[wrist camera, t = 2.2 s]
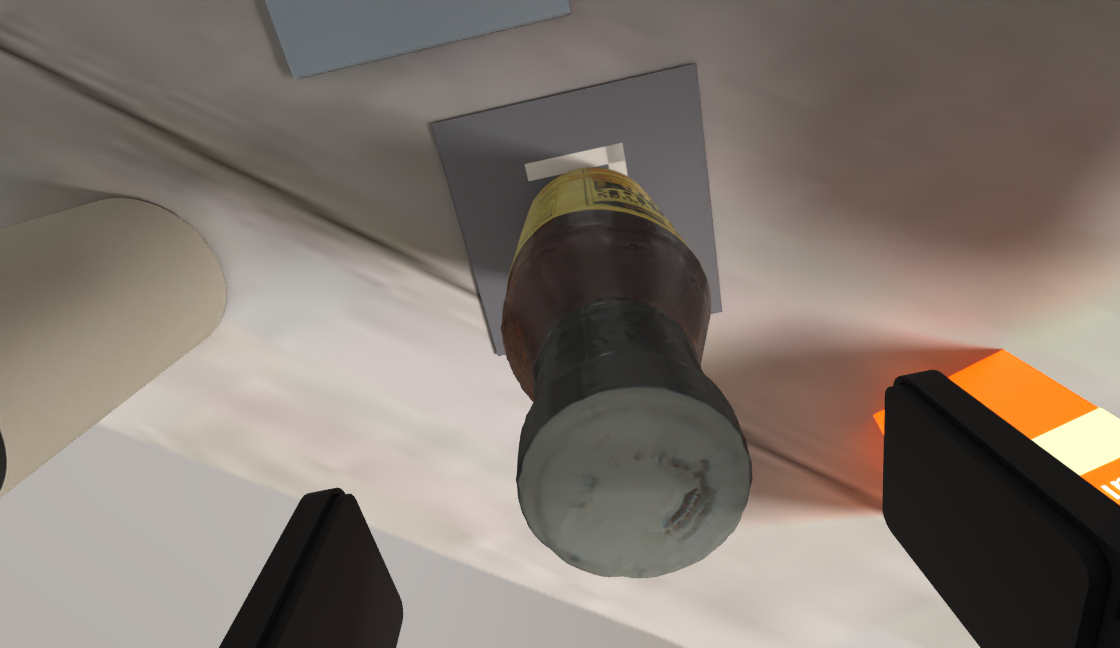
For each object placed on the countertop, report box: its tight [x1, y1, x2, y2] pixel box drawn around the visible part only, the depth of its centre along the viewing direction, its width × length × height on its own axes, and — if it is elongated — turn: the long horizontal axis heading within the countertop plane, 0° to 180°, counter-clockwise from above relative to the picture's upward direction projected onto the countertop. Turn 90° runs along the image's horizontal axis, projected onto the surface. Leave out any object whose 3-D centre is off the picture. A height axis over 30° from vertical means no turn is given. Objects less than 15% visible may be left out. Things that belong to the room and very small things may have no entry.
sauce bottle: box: [501, 167, 752, 578], centre depth 19 cm, size 6×6×20 cm
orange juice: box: [873, 349, 1120, 505], centre depth 24 cm, size 8×9×20 cm
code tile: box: [431, 63, 722, 356], centre depth 28 cm, size 12×12×1 cm
